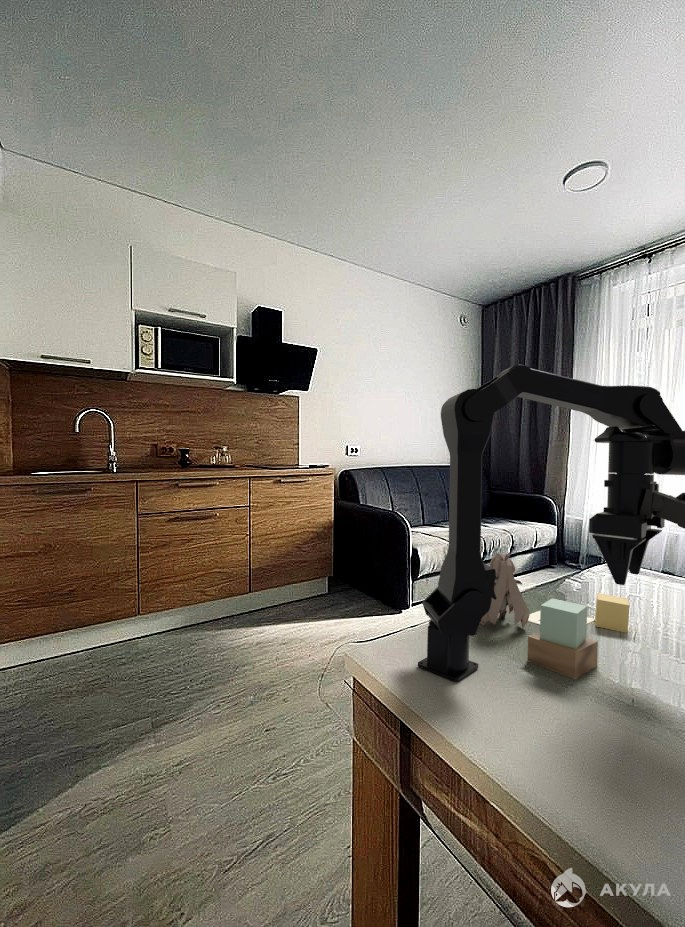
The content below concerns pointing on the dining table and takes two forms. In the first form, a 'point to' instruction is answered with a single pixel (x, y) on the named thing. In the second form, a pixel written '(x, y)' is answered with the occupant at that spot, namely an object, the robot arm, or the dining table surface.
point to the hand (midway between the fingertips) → (627, 579)
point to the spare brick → (612, 612)
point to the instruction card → (536, 618)
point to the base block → (563, 656)
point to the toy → (506, 592)
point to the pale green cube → (563, 623)
